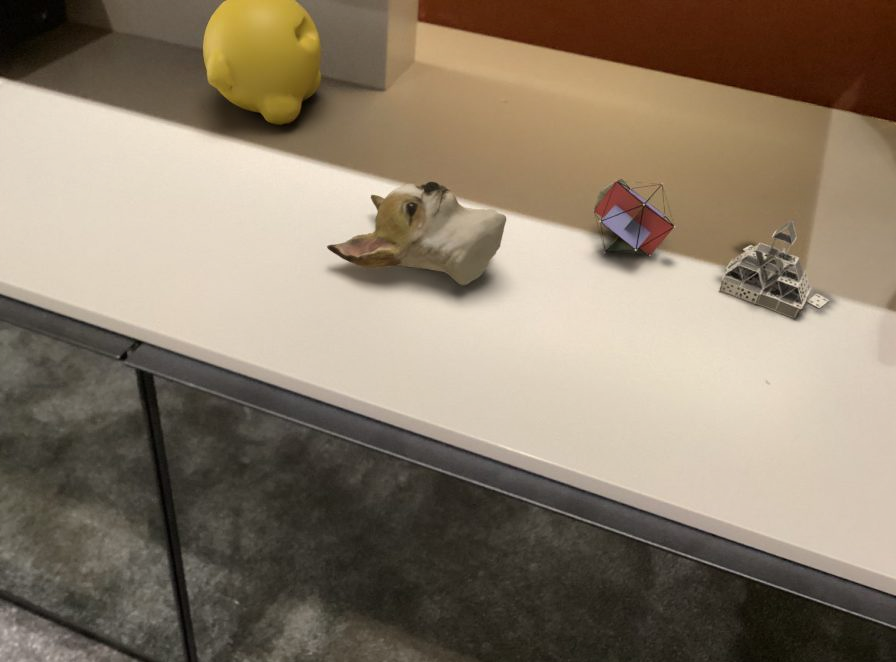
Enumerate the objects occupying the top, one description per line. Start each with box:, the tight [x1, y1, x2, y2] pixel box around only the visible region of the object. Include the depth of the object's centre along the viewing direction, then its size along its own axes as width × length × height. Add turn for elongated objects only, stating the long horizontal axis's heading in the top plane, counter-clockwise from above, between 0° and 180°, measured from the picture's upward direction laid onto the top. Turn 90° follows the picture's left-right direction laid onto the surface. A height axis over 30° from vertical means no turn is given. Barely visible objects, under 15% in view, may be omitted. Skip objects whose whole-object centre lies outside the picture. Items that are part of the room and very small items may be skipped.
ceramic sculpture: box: [326, 181, 507, 286], centre depth 86 cm, size 11×9×15 cm
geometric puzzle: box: [592, 178, 676, 257], centre depth 89 cm, size 7×7×8 cm
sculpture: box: [202, 0, 322, 126], centre depth 104 cm, size 15×13×13 cm
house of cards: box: [718, 219, 830, 319], centre depth 85 cm, size 9×9×8 cm
